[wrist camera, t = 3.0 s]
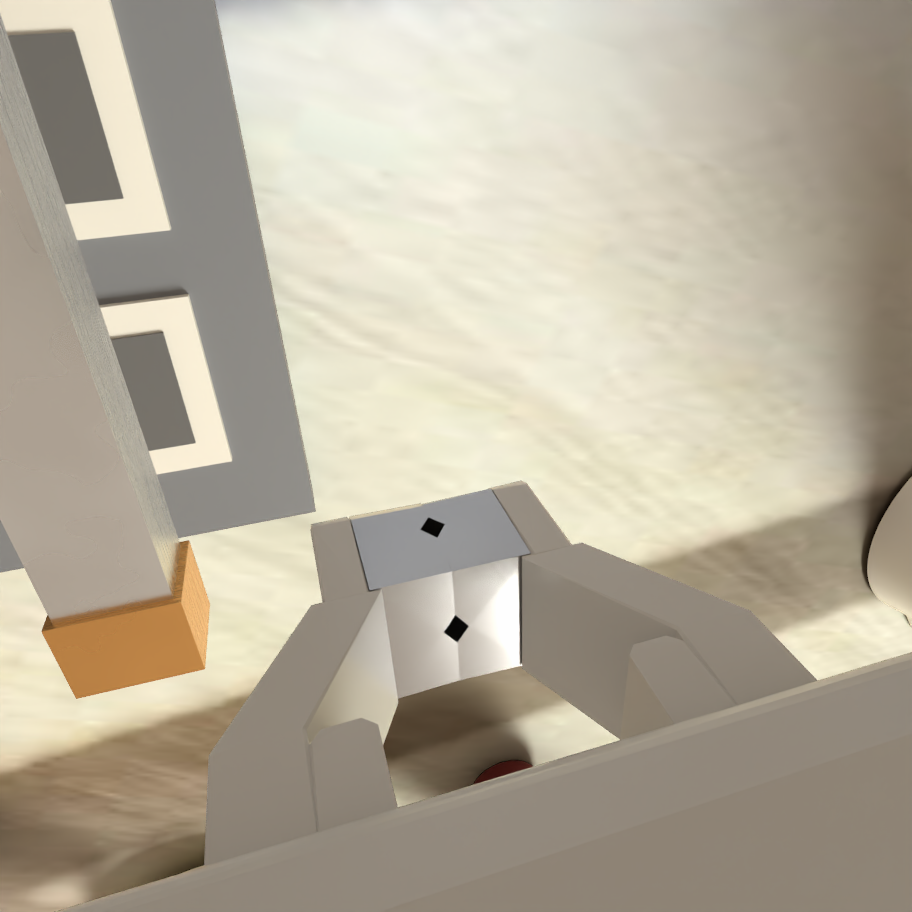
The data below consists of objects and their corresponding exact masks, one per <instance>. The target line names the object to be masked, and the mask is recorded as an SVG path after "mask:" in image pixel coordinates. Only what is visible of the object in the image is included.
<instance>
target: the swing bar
mask: <svg viewBox="0 0 912 912" xmlns="http://www.w3.org/2000/svg"><path fill="white" fill-rule="evenodd" d="M0 520H1V522H2V524H3V526H4V528H5V530H6V532H7V534H8V536H9V538H10V540H11V542H12V544H13V546H14V548H15V550H16V552H17V554H18V556H19V558H20V560H21V562H22V564H23V566H24V568H25V570H26V572H27V574H28V576H29V578H30V580H31V582H32V584H33V586H34V588H35V590H36V592H37V594H38V596H39V598H40V600H41V602H42V604H43V606H44V608H45V610H46V612H47V614H48V615H47V618H46V621H45V623H44V626H43V629H42V634H43V636H44V637H45V639H46V641H47V643H48V645H49V647H50V649H51V651H52V653H53V655H54V657H55V659H56V661H57V663H58V664H59V666H60V668H61V670H62V672H63V674H64V676H65V678H66V680H67V682H68V684H69V686H70V688H71V690H72V692H73V693H74V695H75V697H76V699H77V698H82V697H86V696H90V695H95V694H99V693H103V692H108V691H112V690H116V689H121V688H125V687H129V686H134V685H138V684H142V683H147V682H151V681H155V680H160V679H164V678H168V677H173V676H177V675H181V674H186V673H190V672H194V671H199V670H203V669H205V661H206V648H207V635H208V622H209V609H210V603H209V600H208V597H207V594H206V591H205V588H204V585H203V581H202V578H201V575H200V572H199V569H198V566H197V563H196V560H195V557H194V554H193V551H192V548H191V545H190V542H189V541H184V542H179V539H178V536H177V533H176V530H175V527H174V524H173V521H172V518H171V515H170V512H169V510H168V507H167V504H166V501H165V498H164V495H163V492H162V489H161V486H160V483H159V480H158V477H157V474H156V471H155V468H154V465H153V462H152V459H151V456H150V453H149V451H148V448H147V445H146V442H145V439H144V436H143V433H142V430H141V427H140V424H139V421H138V418H137V415H136V412H135V409H134V406H133V403H132V400H131V397H130V395H129V392H128V389H127V386H126V383H125V380H124V377H123V374H122V371H121V368H120V365H119V362H118V359H117V356H116V353H115V350H114V347H113V344H112V341H111V339H110V336H109V333H108V330H107V327H106V324H105V321H104V318H103V315H102V312H101V309H100V306H99V303H98V300H97V297H96V294H95V291H94V288H93V285H92V282H91V280H90V277H89V274H88V271H87V268H86V265H85V262H84V259H83V256H82V253H81V250H80V247H79V244H78V241H77V238H76V235H75V232H74V229H73V226H72V224H71V221H70V218H69V215H68V212H67V209H66V206H65V203H64V200H63V197H62V194H61V191H60V188H59V185H58V182H57V179H56V176H55V173H54V170H53V168H52V165H51V162H50V159H49V156H48V153H47V150H46V147H45V144H44V141H43V138H42V135H41V132H40V129H39V126H38V123H37V120H36V117H35V114H34V112H33V109H32V106H31V103H30V100H29V97H28V94H27V91H26V88H25V85H24V82H23V79H22V76H21V73H20V70H19V67H18V64H17V61H16V58H15V55H14V53H13V50H12V47H11V44H10V41H9V38H8V35H7V32H6V29H5V26H4V23H3V20H2V17H1V14H0Z"/></svg>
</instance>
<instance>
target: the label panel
mask: <svg viewBox="0 0 912 912" xmlns="http://www.w3.org/2000/svg"><path fill="white" fill-rule="evenodd" d="M0 14H1V17H2V20H3V23H4V26H5V29H6V32H7V35H8V38H9V41H10V44H11V47H12V50H13V53H14V55H15V58H16V61H17V64H18V67H19V70H20V73H21V76H22V79H23V82H24V85H25V88H26V91H27V94H28V97H29V100H30V103H31V106H32V109H33V112H34V114H35V117H36V120H37V123H38V126H39V129H40V132H41V135H42V138H43V141H44V144H45V147H46V150H47V153H48V156H49V159H50V162H51V165H52V168H53V170H54V173H55V176H56V179H57V182H58V185H59V188H60V191H61V194H62V197H63V200H64V203H65V206H66V209H67V212H68V215H69V218H70V221H71V224H72V226H73V229H74V232H75V235H76V238H77V241H78V244H79V247H80V250H81V253H82V256H83V259H84V262H85V265H86V268H87V271H88V274H89V277H90V280H91V282H92V285H93V288H94V291H95V294H96V297H97V300H98V303H99V306H100V309H101V312H102V315H103V318H104V321H105V324H106V327H107V330H108V333H109V336H110V339H111V341H112V344H113V347H114V350H115V353H116V356H117V359H118V362H119V365H120V368H121V371H122V374H123V377H124V380H125V383H126V386H127V389H128V392H129V395H130V397H131V400H132V403H133V406H134V409H135V412H136V415H137V418H138V421H139V424H140V427H141V430H142V433H143V436H144V439H145V442H146V445H147V448H148V451H149V453H150V456H151V459H152V462H153V465H154V468H155V471H156V474H157V477H158V480H159V483H160V486H161V489H162V492H163V495H164V498H165V501H166V504H167V507H168V510H169V512H170V515H171V518H172V521H173V524H174V527H175V530H176V533H177V536H178V538H181V537H186V536H191V535H197V534H202V533H207V532H212V531H217V530H223V529H228V528H233V527H238V526H243V525H248V524H254V523H259V522H264V521H269V520H274V519H279V518H285V517H290V516H295V515H300V514H305V513H311V512H316V510H315V503H314V497H313V490H312V485H311V480H310V475H309V470H308V465H307V460H306V455H305V450H304V445H303V440H302V435H301V430H300V425H299V420H298V415H297V410H296V405H295V400H294V395H293V390H292V385H291V380H290V375H289V370H288V365H287V360H286V355H285V350H284V345H283V340H282V335H281V330H280V325H279V320H278V315H277V310H276V305H275V300H274V295H273V290H272V285H271V280H270V275H269V270H268V265H267V260H266V255H265V250H264V245H263V240H262V235H261V230H260V225H259V220H258V215H257V210H256V205H255V200H254V195H253V190H252V185H251V180H250V175H249V170H248V165H247V160H246V155H245V150H244V145H243V140H242V135H241V130H240V125H239V120H238V115H237V110H236V105H235V100H234V95H233V90H232V85H231V80H230V75H229V70H228V65H227V60H226V55H225V50H224V45H223V40H222V35H221V30H220V25H219V20H218V15H217V10H216V5H215V0H0ZM21 568H24V566H23V564H22V562H21V560H20V558H19V556H18V554H17V552H16V550H15V548H14V546H13V544H12V542H11V540H10V538H9V536H8V534H7V532H6V530H5V528H4V526H3V524H2V522H1V520H0V572H5V571H10V570H16V569H21Z"/></svg>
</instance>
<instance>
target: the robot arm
mask: <svg viewBox="0 0 912 912" xmlns="http://www.w3.org/2000/svg"><path fill="white" fill-rule="evenodd" d="M349 519H350V520H349ZM349 519H348V518H347V517H343V518H339V519H334V520H329V521H324V522H320V523H315V524H311V536H312V542H313V548H314V554H315V560H316V565H317V571H318V577H319V583H320V589H321V595H322V601H323V603H319V604H315V605H312V606H311V607H310V608H309V610H308V611H307V613H306V614H305V615H304V617H303V618H302V620H301V621H300V623H299V624H298V626H297V627H296V629H295V630H294V632H293V633H292V635H291V636H290V637H289V639H288V640H287V642H286V643H285V645H284V646H283V648H282V649H281V651H280V652H279V654H278V655H277V656H276V658H275V659H274V661H273V662H272V664H271V665H270V667H269V668H268V670H267V671H266V673H265V674H264V676H263V677H262V678H261V680H260V681H259V683H258V684H257V686H256V687H255V689H254V690H253V692H252V693H251V695H250V696H249V697H248V699H247V700H246V702H245V703H244V705H243V706H242V708H241V709H240V711H239V712H238V714H237V715H236V717H235V718H234V719H233V721H232V722H231V724H230V725H229V727H228V728H227V730H226V731H225V733H224V734H223V736H222V737H221V738H220V740H219V741H218V743H217V744H216V746H215V747H214V749H213V750H212V752H211V753H210V755H209V765H208V788H207V811H206V834H205V857H204V867H200V868H197V869H194V870H191V871H187V872H184V873H181V874H177V875H174V876H171V877H167V878H164V879H161V880H158V881H154V882H151V883H148V884H144V885H141V886H138V887H134V888H131V889H128V890H125V891H121V892H118V893H115V894H111V895H108V896H105V897H101V898H98V899H95V900H91V901H88V902H85V903H82V904H78V905H75V906H72V907H68V908H65V909H62V910H58V911H55V912H912V652H911V653H907V654H904V655H901V656H897V657H894V658H891V659H887V660H884V661H881V662H878V663H874V664H871V665H868V666H864V667H861V668H858V669H854V670H851V671H848V672H845V673H841V674H838V675H835V676H831V677H828V678H825V679H821V680H818V681H817V680H816V678H815V677H814V676H813V675H812V674H811V673H810V672H809V671H808V670H807V669H806V668H805V667H804V666H803V665H802V664H801V663H800V662H799V661H798V660H797V659H796V658H795V657H794V656H793V655H792V654H791V652H790V651H789V650H788V649H787V648H786V647H785V646H784V645H783V644H782V643H781V642H780V641H779V640H778V639H777V638H776V637H775V636H774V635H773V634H772V633H771V632H770V631H769V630H768V629H767V628H766V627H765V625H764V624H763V623H762V622H761V621H760V620H759V619H758V618H757V617H756V616H755V615H754V614H753V613H752V612H751V611H750V610H747V609H745V608H742V607H740V606H737V605H735V604H732V603H730V602H727V601H725V600H722V599H720V598H717V597H715V596H713V595H710V594H708V593H705V592H703V591H700V590H698V589H695V588H693V587H690V586H688V585H685V584H683V583H680V582H678V581H675V580H673V579H670V578H668V577H665V576H663V575H661V574H658V573H656V572H653V571H651V570H648V569H646V568H643V567H641V566H638V565H636V564H633V563H631V562H628V561H626V560H623V559H621V558H618V557H616V556H613V555H611V554H609V553H606V552H604V551H601V550H599V549H596V548H594V547H591V546H589V545H586V544H584V543H579V544H574V545H572V544H571V543H570V541H569V540H568V539H567V537H566V536H565V535H564V533H563V532H562V530H561V529H560V528H559V526H558V525H557V524H556V522H555V521H554V520H553V518H552V517H551V516H550V514H549V513H548V511H547V510H546V509H545V507H544V506H543V505H542V503H541V502H540V501H539V499H538V498H537V496H536V495H535V494H534V492H533V491H532V490H531V488H530V487H529V486H528V484H527V483H525V482H523V481H517V482H513V483H509V484H505V485H501V486H497V487H492V488H488V489H487V490H483V491H478V492H474V493H469V494H465V495H460V496H456V497H451V498H447V499H442V500H438V501H433V502H429V503H424V504H421V503H420V504H414V505H409V506H403V507H398V508H393V509H387V510H382V511H376V512H371V513H366V514H360V515H355V516H349ZM867 574H868V581H869V584H870V587H871V589H872V591H873V593H874V594H875V596H876V597H877V598H878V599H879V600H880V601H881V602H883V603H884V604H886V605H888V606H890V607H892V608H893V609H895V610H897V611H899V612H901V613H903V614H905V615H906V616H907V619H908V621H909V623H910V625H911V627H912V477H911V478H910V479H909V480H908V481H907V483H906V484H905V485H904V486H903V488H902V489H901V490H900V491H899V493H898V494H897V496H896V497H895V498H894V500H893V501H892V503H891V504H890V506H889V508H888V509H887V511H886V513H885V514H884V516H883V518H882V520H881V522H880V524H879V526H878V528H877V530H876V533H875V535H874V538H873V541H872V544H871V547H870V551H869V556H868V564H867ZM517 666H522V669H524V670H525V671H526V672H528V673H529V674H531V675H532V676H533V677H535V678H536V679H537V680H539V681H540V682H542V683H543V684H544V685H546V686H547V687H548V688H550V689H551V690H553V691H554V692H555V693H557V694H558V695H559V696H561V697H562V698H564V699H565V700H566V701H568V702H569V703H571V704H572V705H573V706H575V707H576V708H577V709H579V710H580V711H582V712H583V713H584V714H586V715H587V716H588V717H590V718H591V719H593V720H594V721H595V722H597V723H598V724H599V725H601V726H602V727H604V728H605V729H606V730H608V731H609V732H610V733H612V734H613V735H615V736H616V737H617V738H619V739H620V741H616V742H613V743H610V744H606V745H603V746H600V747H596V748H593V749H590V750H587V751H583V752H580V753H577V754H573V755H570V756H567V757H563V758H560V759H557V760H554V761H550V762H547V763H544V764H540V765H537V766H534V767H530V768H527V769H524V770H521V771H517V772H514V773H511V774H507V775H504V776H501V777H497V778H494V779H491V780H488V781H484V782H481V783H478V784H474V785H471V786H468V787H464V788H461V789H458V790H455V791H451V792H448V793H445V794H441V795H438V796H435V797H431V798H428V799H425V800H422V801H418V802H415V803H412V804H408V805H405V806H402V807H397V803H396V799H395V794H394V790H393V786H392V782H391V777H390V773H389V769H388V765H387V760H386V756H385V752H384V748H383V744H384V742H385V739H386V736H387V733H388V730H389V727H390V725H391V722H392V719H393V716H394V713H395V711H396V708H397V705H398V698H402V697H405V696H408V695H412V694H415V693H418V692H422V691H425V690H428V689H432V688H435V687H439V686H442V685H445V684H449V683H452V682H455V681H459V680H463V679H467V678H471V677H476V676H480V675H484V674H488V673H492V672H497V671H501V670H505V669H509V668H513V667H517Z"/></svg>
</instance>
